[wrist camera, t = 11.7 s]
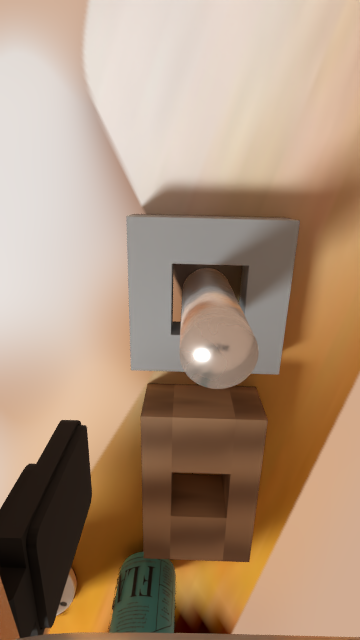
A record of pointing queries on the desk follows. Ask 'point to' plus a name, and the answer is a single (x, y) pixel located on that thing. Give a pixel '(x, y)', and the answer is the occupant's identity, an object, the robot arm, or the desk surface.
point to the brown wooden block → (200, 471)
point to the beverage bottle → (144, 596)
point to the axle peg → (214, 332)
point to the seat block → (213, 249)
